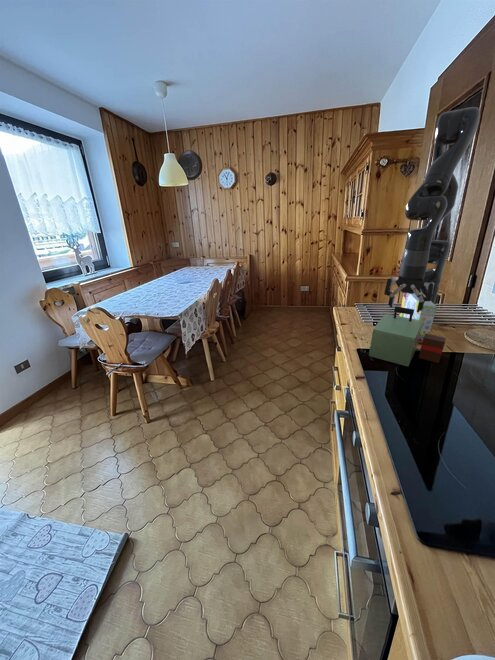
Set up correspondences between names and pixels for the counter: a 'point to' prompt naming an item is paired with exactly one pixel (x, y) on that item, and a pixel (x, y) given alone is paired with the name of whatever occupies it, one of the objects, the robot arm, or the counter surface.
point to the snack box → (424, 315)
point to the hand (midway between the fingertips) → (404, 309)
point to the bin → (393, 348)
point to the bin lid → (399, 324)
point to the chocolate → (432, 348)
